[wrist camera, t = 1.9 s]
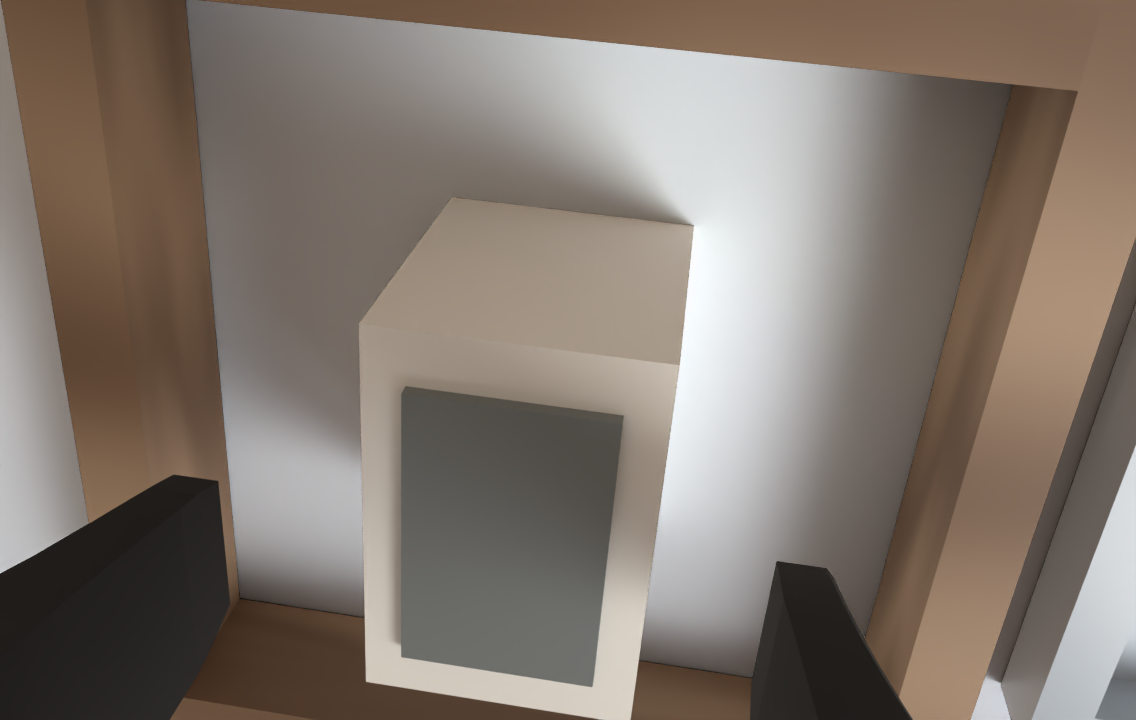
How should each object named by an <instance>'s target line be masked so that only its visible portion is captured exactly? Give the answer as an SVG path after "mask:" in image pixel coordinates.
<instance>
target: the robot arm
mask: <svg viewBox="0 0 1136 720" xmlns="http://www.w3.org/2000/svg"><path fill="white" fill-rule="evenodd" d="M229 606H230V595H229V584H228V574H227V564H226V554H225V544H224V534H223V523H222V513H221V503H220V493H219V483H218V481H216V480H209V479H202V478H195V477H188V476H181V475H172V476H170V477H168V478H166V479H164V480H162V481H160V482H158V483H157V484H155V485H153V486H151V487H150V488H148V489H146V490H144V491H143V492H141V493H139V494H138V495H136V496H134V497H133V498H131V499H129V500H127V501H126V502H124V503H122V504H121V505H119V506H117V507H116V508H114V509H112V510H111V511H109V512H107V513H106V514H104V515H102V516H101V517H99V518H97V519H96V520H94V521H92V522H91V523H89V524H87V525H86V526H84V527H82V528H80V529H79V530H77V531H75V532H74V533H72V534H70V535H69V536H67V537H65V538H63V539H62V540H60V541H58V542H57V543H55V544H53V545H51V546H50V547H48V548H46V549H45V550H43V551H41V552H39V553H38V554H36V555H34V556H32V557H31V558H29V559H27V560H25V561H23V562H21V563H19V564H17V565H16V566H14V567H12V568H10V569H8V570H6V571H4V572H3V573H1V574H0V720H170V719H171V717H172V715H173V714H174V712H175V711H176V709H177V707H178V706H179V704H180V702H181V701H182V699H183V698H184V696H185V694H186V693H187V691H188V690H189V688H190V686H191V685H192V683H193V681H194V680H195V678H196V676H197V675H198V673H199V671H200V669H201V667H202V665H203V663H204V661H205V659H206V657H207V655H208V653H209V650H210V648H211V646H212V644H213V642H214V640H215V638H216V635H217V633H218V631H219V628H220V626H221V624H222V622H223V619H224V617H225V615H226V612H227V610H228V608H229ZM750 720H913V719H912V717H911V716H910V714H909V713H908V711H907V710H906V708H905V706H904V705H903V703H902V702H901V700H900V698H899V697H898V695H897V693H896V692H895V690H894V689H893V687H892V685H891V684H890V682H889V680H888V679H887V677H886V675H885V674H884V672H883V671H882V669H881V667H880V666H879V664H878V662H877V660H876V659H875V657H874V655H873V653H872V652H871V650H870V648H869V646H868V644H867V643H866V641H865V639H864V637H863V635H862V633H861V632H860V630H859V628H858V626H857V624H856V622H855V620H854V618H853V616H852V614H851V613H850V611H849V609H848V607H847V605H846V603H845V601H844V599H843V596H842V594H841V592H840V590H839V588H838V586H837V584H836V582H835V580H834V577H833V576H832V575H831V574H830V572H829V571H828V570H827V568H820V567H813V566H806V565H800V564H793V563H786V562H779V561H777V562H776V567H775V572H774V576H773V581H772V586H771V591H770V596H769V601H768V605H767V610H766V615H765V620H764V625H763V630H762V634H761V639H760V644H759V649H758V654H757V658H756V663H755V668H754V673H753V678H752V683H751V705H750Z"/></svg>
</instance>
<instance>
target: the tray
mask: <svg viewBox="0 0 1136 720" xmlns="http://www.w3.org/2000/svg"><path fill="white" fill-rule="evenodd" d="M1001 688H1002V691H1003V694H1004V698H1005V701H1006V705H1007V708H1008V711H1009V715H1010V718H1011V720H1136V305H1135V307H1134V310H1133V313H1132V316H1131V319H1130V322H1129V324H1128V327H1127V330H1126V333H1125V336H1124V338H1123V341H1122V344H1121V347H1120V350H1119V353H1118V355H1117V358H1116V361H1115V364H1114V367H1113V370H1112V372H1111V375H1110V378H1109V381H1108V384H1107V386H1106V389H1105V392H1104V395H1103V398H1102V401H1101V403H1100V406H1099V409H1098V412H1097V415H1096V418H1095V420H1094V423H1093V426H1092V429H1091V432H1090V435H1089V437H1088V440H1087V443H1086V446H1085V449H1084V451H1083V454H1082V457H1081V460H1080V463H1079V466H1078V468H1077V471H1076V474H1075V477H1074V480H1073V483H1072V485H1071V488H1070V491H1069V494H1068V497H1067V500H1066V502H1065V505H1064V508H1063V511H1062V514H1061V516H1060V519H1059V522H1058V525H1057V528H1056V531H1055V533H1054V536H1053V539H1052V542H1051V545H1050V548H1049V550H1048V553H1047V556H1046V559H1045V562H1044V564H1043V567H1042V570H1041V573H1040V576H1039V579H1038V581H1037V584H1036V587H1035V590H1034V593H1033V596H1032V598H1031V601H1030V604H1029V607H1028V610H1027V613H1026V615H1025V618H1024V621H1023V624H1022V627H1021V629H1020V632H1019V635H1018V638H1017V641H1016V644H1015V646H1014V649H1013V652H1012V655H1011V658H1010V661H1009V663H1008V666H1007V669H1006V672H1005V675H1004V677H1003V680H1002V683H1001Z"/></svg>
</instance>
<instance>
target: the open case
mask: <svg viewBox="0 0 1136 720" xmlns="http://www.w3.org/2000/svg"><path fill="white" fill-rule="evenodd" d="M202 1H212V2H222V3H231V4H241V5H251V6H260V7H270V8H280V9H289V10H299V11H309V12H318V13H328V14H338V15H347V16H357V17H367V18H376V19H386V20H396V21H405V22H415V23H425V24H434V25H444V26H454V27H463V28H473V29H483V30H492V31H502V32H512V33H521V34H531V35H541V36H550V37H560V38H570V39H579V40H589V41H599V42H608V43H618V44H628V45H637V46H647V47H657V48H666V49H676V50H686V51H695V52H705V53H715V54H724V55H734V56H744V57H753V58H763V59H773V60H782V61H792V62H802V63H811V64H821V65H831V66H840V67H850V68H860V69H869V70H879V71H889V72H898V73H908V74H918V75H927V76H937V77H947V78H956V79H966V80H976V81H985V82H995V83H1005V84H1013V86H1012V90H1011V94H1010V98H1009V101H1008V105H1007V109H1006V113H1005V116H1004V120H1003V124H1002V128H1001V131H1000V135H999V139H998V143H997V146H996V150H995V154H994V158H993V161H992V165H991V169H990V173H989V176H988V180H987V184H986V188H985V191H984V195H983V199H982V203H981V206H980V210H979V214H978V218H977V221H976V225H975V229H974V233H973V236H972V240H971V244H970V248H969V251H968V255H967V259H966V263H965V266H964V270H963V274H962V278H961V281H960V285H959V289H958V293H957V296H956V300H955V304H954V308H953V311H952V315H951V319H950V323H949V326H948V330H947V334H946V338H945V341H944V345H943V349H942V353H941V356H940V360H939V364H938V368H937V371H936V375H935V379H934V383H933V386H932V390H931V394H930V398H929V401H928V405H927V409H926V413H925V416H924V420H923V424H922V428H921V431H920V435H919V439H918V443H917V446H916V450H915V454H914V458H913V461H912V465H911V469H910V473H909V476H908V480H907V484H906V488H905V491H904V495H903V499H902V503H901V506H900V510H899V514H898V518H897V521H896V525H895V529H894V533H893V536H892V540H891V544H890V548H889V551H888V555H887V559H886V563H885V566H884V570H883V574H882V578H881V581H880V585H879V589H878V593H877V596H876V600H875V604H874V608H873V611H872V615H871V619H870V623H869V626H868V630H867V634H866V638H865V641H866V643H867V644H868V646H869V648H870V650H871V652H872V653H873V655H874V657H875V659H876V660H877V662H878V664H879V666H880V667H881V669H882V671H883V672H884V674H885V675H886V677H887V679H888V680H889V682H890V684H891V685H892V687H893V689H894V690H895V692H896V693H897V695H898V697H899V698H900V700H901V702H902V703H903V705H904V706H905V708H906V710H907V711H908V713H909V714H910V716H911V717H912V719H913V720H970V719H971V716H972V713H973V710H974V708H975V705H976V702H977V699H978V696H979V693H980V690H981V687H982V684H983V681H984V678H985V675H986V673H987V670H988V667H989V664H990V661H991V658H992V655H993V652H994V649H995V646H996V643H997V640H998V638H999V635H1000V632H1001V629H1002V626H1003V623H1004V620H1005V617H1006V614H1007V611H1008V608H1009V606H1010V603H1011V600H1012V597H1013V594H1014V591H1015V588H1016V585H1017V582H1018V579H1019V576H1020V573H1021V571H1022V568H1023V565H1024V562H1025V559H1026V556H1027V553H1028V550H1029V547H1030V544H1031V541H1032V538H1033V536H1034V533H1035V530H1036V527H1037V524H1038V521H1039V518H1040V515H1041V512H1042V509H1043V506H1044V503H1045V501H1046V498H1047V495H1048V492H1049V489H1050V486H1051V483H1052V480H1053V477H1054V474H1055V471H1056V468H1057V466H1058V463H1059V460H1060V457H1061V454H1062V451H1063V448H1064V445H1065V442H1066V439H1067V436H1068V433H1069V431H1070V428H1071V425H1072V422H1073V419H1074V416H1075V413H1076V410H1077V407H1078V404H1079V401H1080V398H1081V396H1082V393H1083V390H1084V387H1085V384H1086V381H1087V378H1088V375H1089V372H1090V369H1091V366H1092V363H1093V361H1094V358H1095V355H1096V352H1097V349H1098V346H1099V343H1100V340H1101V337H1102V334H1103V331H1104V329H1105V326H1106V323H1107V320H1108V317H1109V314H1110V311H1111V308H1112V305H1113V302H1114V299H1115V296H1116V294H1117V291H1118V288H1119V285H1120V282H1121V279H1122V276H1123V273H1124V270H1125V267H1126V264H1127V261H1128V259H1129V256H1130V253H1131V250H1132V247H1133V244H1134V241H1135V238H1136V0H202ZM1 3H2V9H3V15H4V21H5V27H6V33H7V39H8V45H9V51H10V57H11V63H12V69H13V75H14V81H15V87H16V92H17V98H18V104H19V110H20V116H21V122H22V128H23V134H24V140H25V146H26V152H27V158H28V164H29V170H30V176H31V182H32V188H33V193H34V199H35V205H36V211H37V217H38V223H39V229H40V235H41V241H42V247H43V253H44V259H45V265H46V271H47V277H48V283H49V289H50V294H51V300H52V306H53V312H54V318H55V324H56V330H57V336H58V342H59V348H60V354H61V360H62V366H63V372H64V378H65V384H66V390H67V395H68V401H69V407H70V413H71V419H72V425H73V431H74V437H75V443H76V449H77V455H78V461H79V467H80V473H81V479H82V485H83V491H84V497H85V502H86V508H87V514H88V520H89V523H91V522H92V521H94V520H96V519H97V518H99V517H101V516H102V515H104V514H106V513H107V512H109V511H111V510H112V509H114V508H116V507H117V506H119V505H121V504H122V503H124V502H126V501H127V500H129V499H131V498H133V497H134V496H136V495H138V494H139V493H141V492H143V491H144V490H146V489H148V488H150V487H151V486H153V485H155V484H157V483H158V482H160V481H162V480H164V479H166V478H168V477H170V476H172V475H181V476H188V477H195V478H202V479H209V480H216V481H218V483H219V493H220V503H221V513H222V523H223V534H224V544H225V554H226V564H227V574H228V584H229V595H230V606H229V608H228V610H227V612H226V615H225V617H224V619H223V622H222V624H221V626H220V628H219V631H218V633H217V635H216V638H215V640H214V642H213V644H212V646H211V648H210V650H209V653H208V655H207V657H206V659H205V661H204V663H203V665H202V667H201V669H200V671H199V673H198V675H197V676H196V678H195V680H194V681H193V683H192V685H191V686H190V688H189V690H188V691H187V693H186V694H185V696H184V698H183V699H182V701H181V702H180V704H179V706H178V707H177V709H176V711H175V712H174V714H173V715H172V717H171V719H170V720H601V719H595V718H589V717H582V716H576V715H570V714H564V713H557V712H551V711H545V710H539V709H533V708H526V707H520V706H514V705H508V704H501V703H495V702H489V701H483V700H476V699H470V698H464V697H458V696H452V695H445V694H439V693H433V692H427V691H420V690H414V689H408V688H402V687H396V686H389V685H383V684H377V683H371V682H366V659H365V618H360V617H354V616H348V615H341V614H335V613H328V612H322V611H315V610H309V609H303V608H296V607H290V606H283V605H277V604H270V603H264V602H258V601H251V600H245V599H240V596H239V585H238V574H237V563H236V552H235V541H234V530H233V519H232V508H231V497H230V486H229V475H228V463H227V452H226V441H225V430H224V419H223V408H222V397H221V386H220V375H219V364H218V353H217V342H216V331H215V320H214V309H213V298H212V287H211V276H210V265H209V254H208V243H207V232H206V221H205V210H204V199H203V188H202V177H201V166H200V155H199V144H198V133H197V122H196V111H195V100H194V89H193V78H192V67H191V56H190V45H189V34H188V23H187V12H186V1H185V0H1ZM751 683H752V678H746V677H739V676H733V675H727V674H720V673H714V672H707V671H701V670H694V669H688V668H682V667H675V666H669V665H662V664H656V663H649V662H643V661H639V662H638V670H637V677H636V684H635V691H634V698H633V706H632V713H631V720H750V705H751Z"/></svg>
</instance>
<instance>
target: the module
mask: <svg viewBox="0 0 1136 720" xmlns="http://www.w3.org/2000/svg"><path fill="white" fill-rule="evenodd" d="M693 230H694V226H691V225H683V224H674V223H666V222H658V221H649V220H641V219H632V218H624V217H615V216H607V215H598V214H590V213H581V212H573V211H565V210H556V209H548V208H539V207H531V206H522V205H514V204H505V203H497V202H488V201H480V200H472V199H463V198H455V197H451V199H450V200H449V201H448V203H447V204H446V206H445V207H444V208H443V210H442V211H441V212H440V214H439V215H438V216H437V218H436V219H435V220H434V222H433V223H432V225H431V226H430V227H429V229H428V230H427V231H426V233H425V234H424V235H423V237H422V238H421V240H420V241H419V242H418V244H417V245H416V246H415V248H414V249H413V250H412V252H411V253H410V255H409V256H408V257H407V259H406V260H405V261H404V263H403V264H402V265H401V267H400V268H399V270H398V271H397V272H396V274H395V275H394V276H393V278H392V279H391V280H390V282H389V283H388V285H387V286H386V287H385V289H384V290H383V291H382V293H381V294H380V295H379V297H378V298H377V299H376V301H375V302H374V304H373V305H372V306H371V308H370V309H369V310H368V312H367V313H366V314H365V316H364V317H363V319H362V320H361V321H360V323H359V364H360V413H361V462H362V512H363V561H364V610H365V659H366V682H371V683H377V684H383V685H389V686H396V687H402V688H408V689H414V690H420V691H427V692H433V693H439V694H445V695H452V696H458V697H464V698H470V699H476V700H483V701H489V702H495V703H501V704H508V705H514V706H520V707H526V708H533V709H539V710H545V711H551V712H557V713H564V714H570V715H576V716H582V717H589V718H595V719H601V720H631V713H632V706H633V698H634V691H635V684H636V677H637V670H638V662H639V655H640V648H641V641H642V633H643V626H644V619H645V612H646V605H647V597H648V590H649V583H650V576H651V568H652V561H653V554H654V547H655V539H656V532H657V525H658V518H659V511H660V503H661V496H662V489H663V482H664V474H665V467H666V460H667V453H668V446H669V438H670V431H671V424H672V417H673V409H674V402H675V395H676V388H677V381H678V373H679V366H680V357H681V347H682V337H683V327H684V317H685V308H686V298H687V288H688V278H689V269H690V259H691V249H692V239H693Z"/></svg>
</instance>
